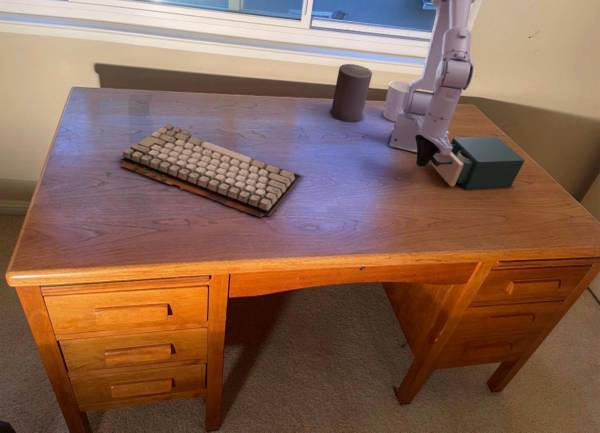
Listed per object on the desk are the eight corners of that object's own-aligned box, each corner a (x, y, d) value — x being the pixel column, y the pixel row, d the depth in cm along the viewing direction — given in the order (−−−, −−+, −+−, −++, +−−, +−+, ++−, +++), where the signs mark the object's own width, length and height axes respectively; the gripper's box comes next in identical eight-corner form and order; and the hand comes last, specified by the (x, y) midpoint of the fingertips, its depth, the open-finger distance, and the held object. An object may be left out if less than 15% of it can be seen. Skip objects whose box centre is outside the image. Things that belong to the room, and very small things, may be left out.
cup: (452, 172, 109) (458, 157, 106) (451, 162, 113) (458, 147, 110) (472, 177, 108) (479, 162, 106) (471, 167, 112) (478, 152, 110)
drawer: (432, 187, 104) (441, 165, 101) (413, 163, 112) (420, 142, 108) (492, 183, 109) (503, 162, 105) (470, 161, 117) (479, 141, 113)
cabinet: (465, 189, 107) (478, 162, 102) (442, 164, 116) (452, 137, 111) (510, 187, 111) (525, 160, 106) (484, 162, 120) (497, 136, 114)
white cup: (407, 115, 137) (417, 85, 131) (404, 125, 131) (413, 94, 125) (383, 108, 138) (391, 78, 132) (378, 118, 132) (387, 87, 126)
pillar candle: (324, 111, 131) (332, 62, 122) (344, 104, 137) (354, 57, 128) (348, 124, 126) (359, 74, 117) (368, 116, 132) (380, 68, 123)
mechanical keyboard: (301, 176, 102) (302, 164, 100) (266, 222, 88) (268, 209, 86) (164, 131, 110) (163, 119, 108) (113, 166, 96) (110, 153, 94)
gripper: (472, 129, 93) (450, 181, 102) (439, 99, 104) (421, 148, 112) (443, 129, 91) (423, 182, 100) (413, 99, 102) (397, 149, 110)
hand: (421, 164), depth 106 cm, fingers closed, pressing on drawer
